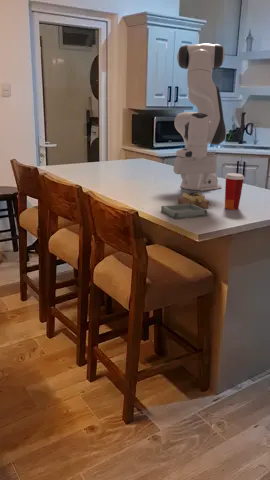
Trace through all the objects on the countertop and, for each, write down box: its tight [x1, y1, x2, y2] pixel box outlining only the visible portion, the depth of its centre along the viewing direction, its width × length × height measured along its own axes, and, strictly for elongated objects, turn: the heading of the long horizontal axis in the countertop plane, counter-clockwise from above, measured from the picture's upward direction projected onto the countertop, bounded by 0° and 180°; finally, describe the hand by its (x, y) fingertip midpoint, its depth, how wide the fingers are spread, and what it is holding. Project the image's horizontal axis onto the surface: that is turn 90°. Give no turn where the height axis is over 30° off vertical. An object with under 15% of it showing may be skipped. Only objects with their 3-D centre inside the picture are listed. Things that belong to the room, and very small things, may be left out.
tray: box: [160, 204, 208, 220], centre depth 181 cm, size 15×12×2 cm
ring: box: [182, 192, 206, 202], centre depth 193 cm, size 10×6×2 cm, turn 24°
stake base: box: [177, 196, 210, 209], centre depth 195 cm, size 10×10×3 cm
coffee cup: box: [224, 172, 245, 211], centre depth 191 cm, size 8×8×15 cm
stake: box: [187, 190, 199, 196], centre depth 194 cm, size 5×1×4 cm, turn 114°
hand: (194, 183), depth 192 cm, fingers open, 8 cm apart
